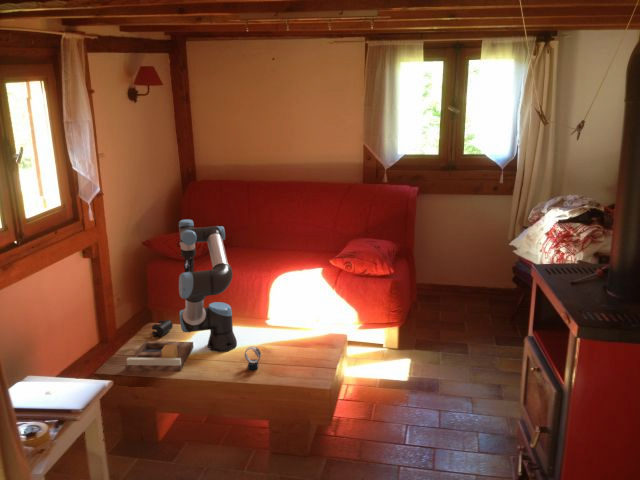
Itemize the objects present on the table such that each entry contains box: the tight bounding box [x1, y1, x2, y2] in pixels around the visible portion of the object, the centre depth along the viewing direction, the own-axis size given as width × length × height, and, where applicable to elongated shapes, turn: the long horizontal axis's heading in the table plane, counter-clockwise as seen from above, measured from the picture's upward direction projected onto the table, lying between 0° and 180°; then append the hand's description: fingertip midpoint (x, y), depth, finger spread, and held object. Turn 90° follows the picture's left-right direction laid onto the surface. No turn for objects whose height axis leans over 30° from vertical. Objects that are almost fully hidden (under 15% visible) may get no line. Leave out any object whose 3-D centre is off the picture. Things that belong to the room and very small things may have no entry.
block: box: [162, 345, 178, 358], centre depth 292 cm, size 6×6×6 cm
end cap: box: [151, 319, 173, 338], centre depth 327 cm, size 10×7×7 cm
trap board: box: [126, 340, 194, 372], centre depth 298 cm, size 26×26×6 cm
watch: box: [244, 346, 262, 372], centre depth 287 cm, size 6×8×11 cm
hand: (191, 290), depth 318 cm, fingers closed
